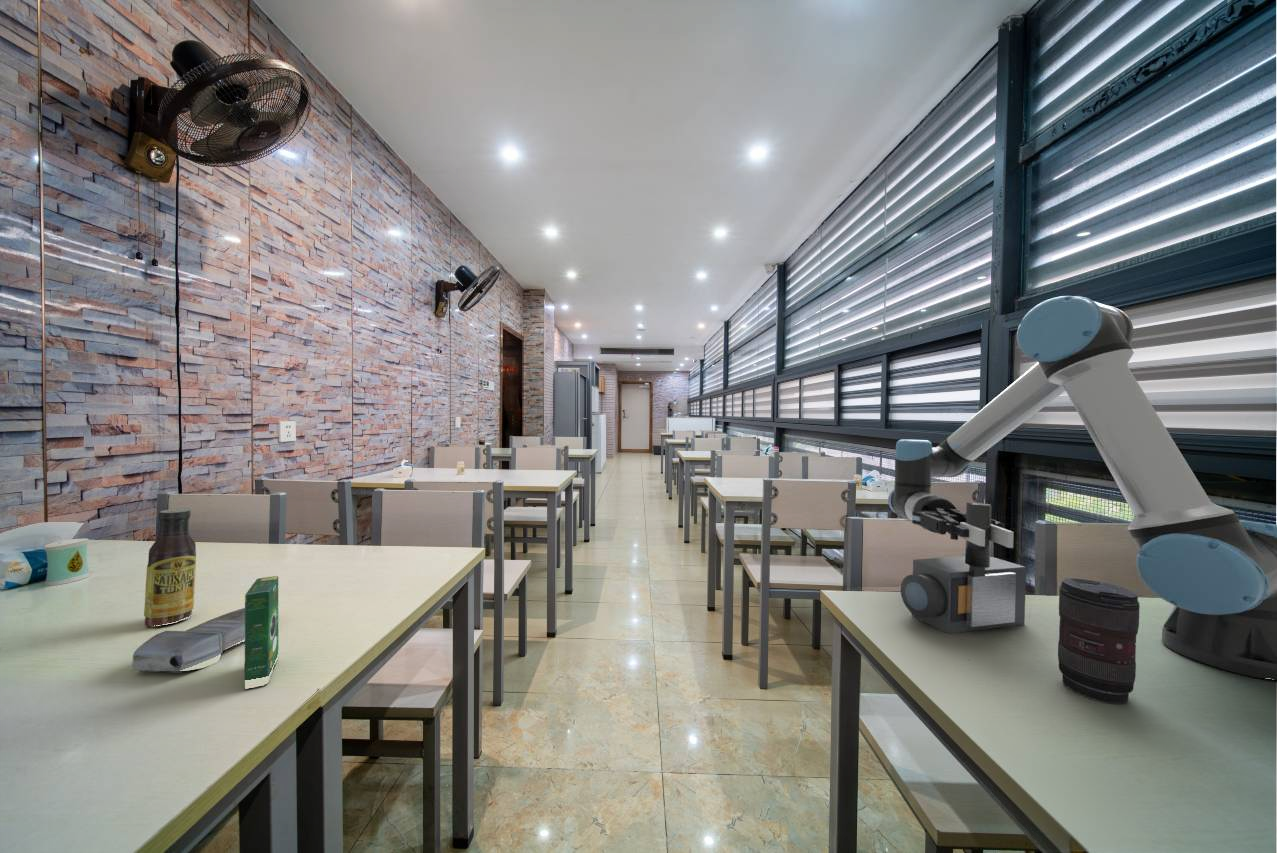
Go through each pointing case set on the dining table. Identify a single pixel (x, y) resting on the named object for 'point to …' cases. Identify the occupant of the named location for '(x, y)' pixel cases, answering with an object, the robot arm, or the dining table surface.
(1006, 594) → the side door
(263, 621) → the coffee box
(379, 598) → the dining table surface
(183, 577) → the sauce bottle
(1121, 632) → the camera lens
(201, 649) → the handheld device
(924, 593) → the camera housing
